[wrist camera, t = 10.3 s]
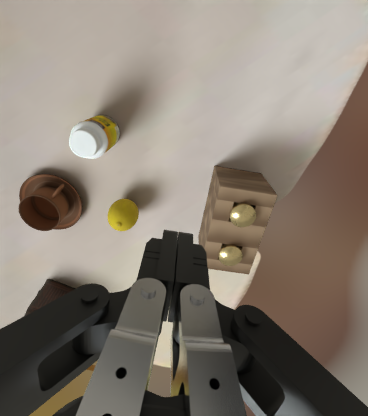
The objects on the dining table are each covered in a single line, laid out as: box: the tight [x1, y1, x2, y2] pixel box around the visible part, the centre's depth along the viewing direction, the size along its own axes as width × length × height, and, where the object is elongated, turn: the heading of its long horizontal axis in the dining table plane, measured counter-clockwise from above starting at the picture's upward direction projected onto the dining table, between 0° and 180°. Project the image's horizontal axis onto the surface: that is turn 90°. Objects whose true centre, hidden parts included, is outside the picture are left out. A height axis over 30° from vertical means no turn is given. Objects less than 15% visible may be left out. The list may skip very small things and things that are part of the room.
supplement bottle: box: [69, 115, 120, 159], centre depth 40 cm, size 6×6×10 cm
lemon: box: [108, 199, 139, 231], centre depth 48 cm, size 6×6×8 cm
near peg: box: [230, 202, 256, 227], centre depth 44 cm, size 4×4×10 cm
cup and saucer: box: [19, 174, 82, 231], centre depth 49 cm, size 12×12×6 cm
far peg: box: [218, 244, 242, 266], centre depth 48 cm, size 4×4×10 cm
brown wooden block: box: [199, 166, 278, 274], centre depth 47 cm, size 16×9×10 cm, turn 171°
